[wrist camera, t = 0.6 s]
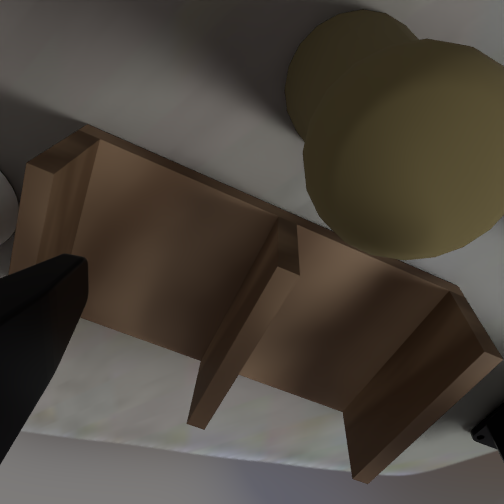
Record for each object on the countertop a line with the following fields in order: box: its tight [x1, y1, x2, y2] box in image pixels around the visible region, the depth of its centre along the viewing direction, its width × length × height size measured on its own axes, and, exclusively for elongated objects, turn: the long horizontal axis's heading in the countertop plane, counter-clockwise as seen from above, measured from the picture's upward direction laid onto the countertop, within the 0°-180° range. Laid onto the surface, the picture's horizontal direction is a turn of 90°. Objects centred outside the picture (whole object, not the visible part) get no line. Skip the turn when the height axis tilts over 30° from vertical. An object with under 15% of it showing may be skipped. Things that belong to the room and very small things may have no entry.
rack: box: [9, 124, 503, 484], centre depth 22 cm, size 21×11×6 cm, turn 66°
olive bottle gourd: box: [285, 9, 504, 260], centre depth 14 cm, size 6×6×11 cm
